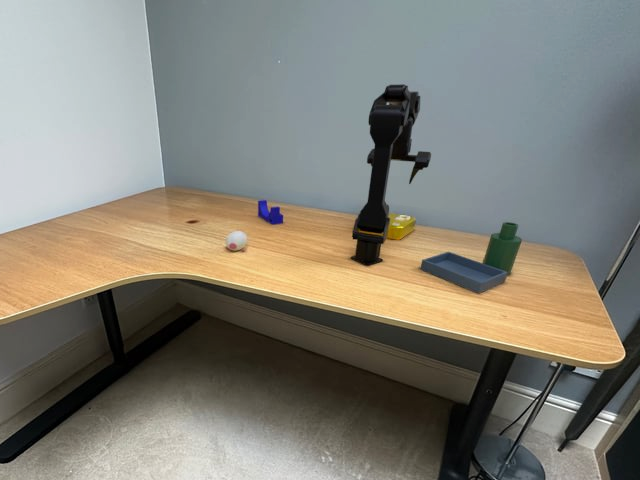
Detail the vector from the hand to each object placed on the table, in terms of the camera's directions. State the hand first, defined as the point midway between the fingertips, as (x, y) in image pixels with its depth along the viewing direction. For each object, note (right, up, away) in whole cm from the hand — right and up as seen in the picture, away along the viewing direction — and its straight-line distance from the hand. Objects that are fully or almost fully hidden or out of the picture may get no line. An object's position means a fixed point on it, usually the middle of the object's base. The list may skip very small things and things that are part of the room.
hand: (395, 182), depth 125 cm
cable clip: (-42, -10, +16) cm, 46 cm away
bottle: (+17, -31, -26) cm, 44 cm away
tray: (+6, -32, -28) cm, 44 cm away
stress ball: (-53, -24, -11) cm, 60 cm away
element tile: (-2, -16, +4) cm, 16 cm away
